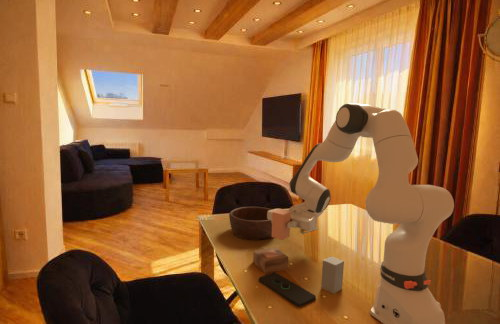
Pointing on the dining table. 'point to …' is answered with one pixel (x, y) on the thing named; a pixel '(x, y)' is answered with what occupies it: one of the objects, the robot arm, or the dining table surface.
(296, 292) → the smart home device
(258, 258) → the walnut base block
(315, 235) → the dining table surface
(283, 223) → the terracotta block
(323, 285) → the grey block
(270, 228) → the wooden bowl
